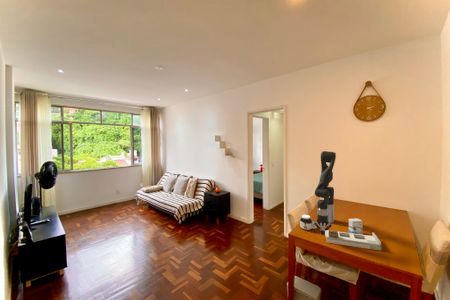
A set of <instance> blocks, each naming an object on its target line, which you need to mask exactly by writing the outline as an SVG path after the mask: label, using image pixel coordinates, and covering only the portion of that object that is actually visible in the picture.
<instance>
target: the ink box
mask: <svg viewBox="0 0 450 300" xmlns="http://www.w3.org/2000/svg"><path fill="white" fill-rule="evenodd" d="M348 233H353V234H361V235H363V220H362V219H360V218H356V217H355V218H348Z"/></svg>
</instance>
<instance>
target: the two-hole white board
mask: <svg viewBox="0 0 450 300" xmlns="http://www.w3.org/2000/svg"><path fill="white" fill-rule="evenodd" d="M329 230H330V229H328V230H327V231H325V235H324V236H325V239H326V243H329V244H335V245H342V246H347V247H348V246H349V247H355V248H360V249H361V248H362V249H369V250H375V251H382V242H381V240H380V239H379V237H378V235H376V234H375V232H371V233H372V235H368V234H362V235H361V234H353V233H349V232H344V231H337V230H336V231H337V232H338V238H332V237H329Z"/></svg>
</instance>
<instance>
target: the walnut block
mask: <svg viewBox="0 0 450 300" xmlns="http://www.w3.org/2000/svg"><path fill="white" fill-rule="evenodd" d="M328 230H329V237H332V238H338V232H339V231H338V232H337V230H330V229H328Z"/></svg>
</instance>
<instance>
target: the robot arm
mask: <svg viewBox="0 0 450 300" xmlns="http://www.w3.org/2000/svg"><path fill="white" fill-rule="evenodd" d="M336 157H337V154H336V152H335V151H326V150H325V151H324V150H323V151H321V153H320V165H321V171H320V172H321V175H320V177H319V181H318V185H317V186H316V188H315V189H314V196H315V197H317V198H322V199H318V200H317V210H316V212H317V213H316V217H317V218H316V221H313V222H314V224H315V226H316V228H317V229H318V230H320V234H321V235H322V236H326V235H325V231H327V230H330V228H332V223H335V201H334V199H335V197H334V196H335V189H334V187H333V186H330V183H331V182H332V181H333V179H334V176H333V175H334V172H333V170H334V166H335V162H336ZM327 163H329V164H327Z"/></svg>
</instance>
